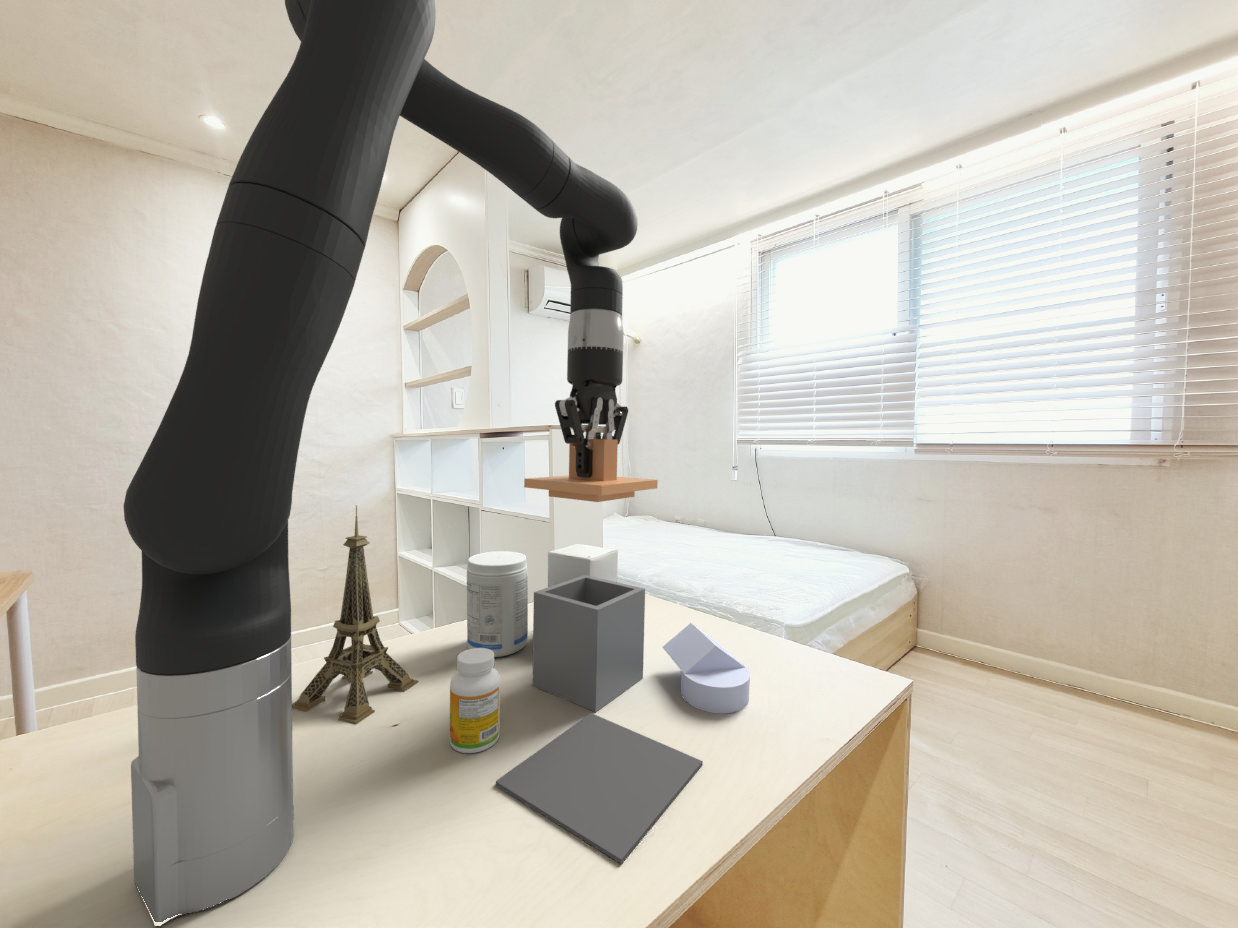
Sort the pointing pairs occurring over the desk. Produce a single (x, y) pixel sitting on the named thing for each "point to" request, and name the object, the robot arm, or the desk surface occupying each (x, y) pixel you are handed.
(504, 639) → the supplement tub
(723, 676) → the wedge on round base
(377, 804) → the desk surface
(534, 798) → the rubber mat
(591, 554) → the supplement box
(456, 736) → the supplement bottle
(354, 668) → the eiffel tower
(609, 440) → the lid
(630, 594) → the storage box
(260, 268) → the robot arm
